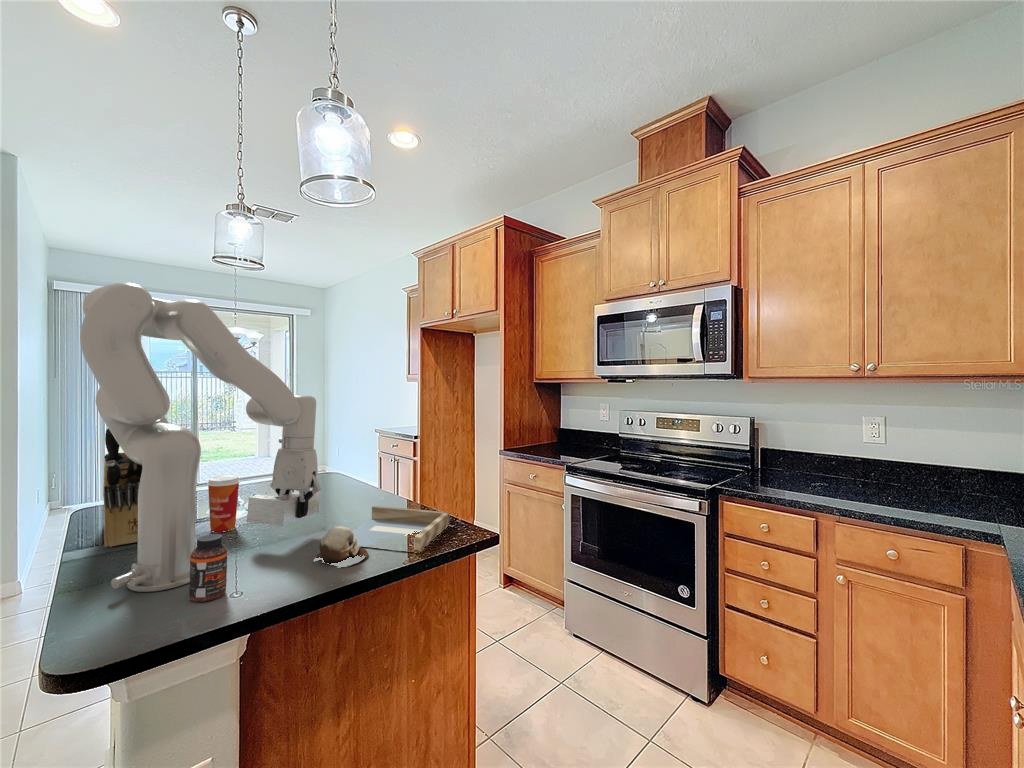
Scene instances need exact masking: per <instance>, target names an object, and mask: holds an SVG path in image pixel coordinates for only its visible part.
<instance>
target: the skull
mask: <svg viewBox="0 0 1024 768" xmlns="http://www.w3.org/2000/svg"><path fill="white" fill-rule="evenodd" d="M352 531H353V530H351V528H349V527H347V526H346V527H345V526H341V525H340V526H335V527H333V528H331V529H330V530H328V531H327V532H326V534H325V535H324V536H323V537H322V538H321V539H320V542H319V552H318V554H316V556H315V557H316V558H319V557H320V558H323V560H324V562H325V563H329V564H331V563H338V562H341V561H343V560H346V559H347V558H349V557H352V558H354V557H355V556H357V555H358V556H360V555H361V556H360V557H362V556H363V555H364V556H366V558H367V557H368V555H369V553H368V552H369V551H368V550H367V549H366V548H361V547H359V545H357V539H356V538H355V537H354V535H353V532H352Z"/></svg>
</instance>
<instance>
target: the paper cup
mask: <svg viewBox="0 0 1024 768" xmlns="http://www.w3.org/2000/svg"><path fill="white" fill-rule="evenodd" d="M240 483H241V480H240V479H239V476H238V475H231V474H230V475H219V476H218V475H217V476H214V477H210V478H209V479H208V482H207V483H206V485H207V486H208V508H209V525H210V532H211V531H214V532H223V531H228V530H231V529H233V528H235V529H236V522H237V512H238V511H237V510H238V509H237V508H238V498H239V486H240ZM233 530H234V529H233ZM231 531H232V530H231ZM228 532H229V531H228ZM223 533H224V532H223Z"/></svg>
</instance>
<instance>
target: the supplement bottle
mask: <svg viewBox="0 0 1024 768" xmlns="http://www.w3.org/2000/svg"><path fill="white" fill-rule="evenodd" d="M222 543H223V535H222V534H220V533H213V534H212V533H211V534H205V535H201V536H199V537H198V538H197V539H196V546H195V549H194V550H193V551H192V553H191V556H190V582H189V586H188V590H189V591H188V593H189V595H188V597H189V598H188V599H189V600H190V601H192V602H196V603H205V602H210V601H214V600H217V599H218V598H221V597H222V596H224V594H225V593H226V591H227V581H228V579H227V574H228V570H227V569H228V547H226V546H225V545H223V544H222Z"/></svg>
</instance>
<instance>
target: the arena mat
mask: <svg viewBox="0 0 1024 768" xmlns="http://www.w3.org/2000/svg"><path fill="white" fill-rule="evenodd" d="M427 526H428V524H417V523H407V522H396V521H386V520H375V519H372V518H371V519H369V520H368V521H366V522H364V523H363V524H360V525H359V526H358V527H357V528H355V529H352V530H351V531H352V532H353V535H354V537H355V538H356V539H357V545H359V546H368V547H369V546H370V544H371V545H374V544H375V543H376V541H378V539H380V538H382V539H385V538H386V539H387V538H388V537H390V536H394V537H395V536H399V537H400V536H401V535H404V536H407V535H408V534H410V535H411V534H412V533H415V532H416V531H417V532H420V531H422V530H423V529H425V528H426V527H427ZM414 531H415V532H414ZM417 532H416V533H417ZM412 535H413V534H412ZM376 539H377V540H376ZM372 540H373V541H372ZM374 541H375V542H374ZM379 541H380V540H379ZM368 544H369V545H368ZM376 544H377V543H376ZM376 544H375V546H376Z"/></svg>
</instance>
